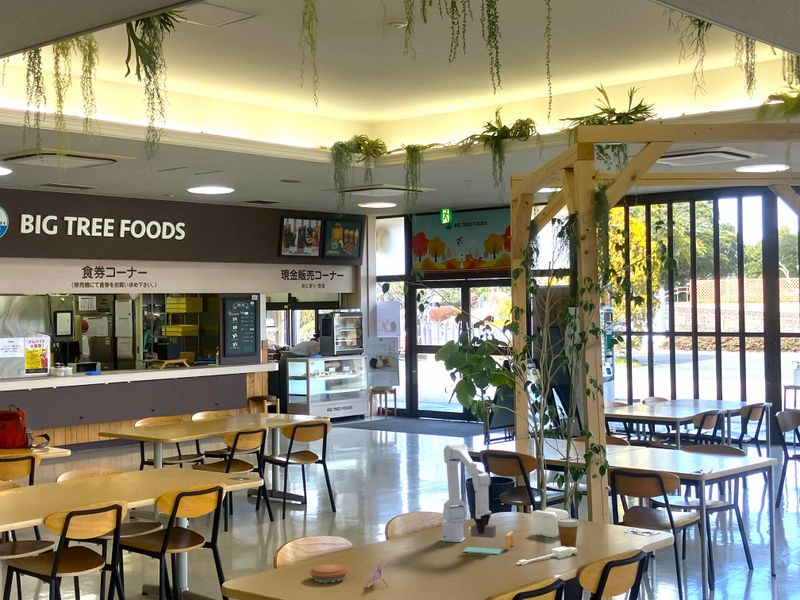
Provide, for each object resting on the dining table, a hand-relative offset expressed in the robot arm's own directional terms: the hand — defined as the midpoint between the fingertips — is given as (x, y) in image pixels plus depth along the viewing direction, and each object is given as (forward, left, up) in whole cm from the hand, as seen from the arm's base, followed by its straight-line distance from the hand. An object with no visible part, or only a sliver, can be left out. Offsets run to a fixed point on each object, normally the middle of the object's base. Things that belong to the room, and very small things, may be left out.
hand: (482, 532), depth 417 cm
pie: (-46, -61, -9) cm, 77 cm away
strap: (+10, +10, -8) cm, 16 cm away
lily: (-24, -65, -9) cm, 70 cm away
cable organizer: (+22, +40, -9) cm, 46 cm away
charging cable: (+29, -5, -9) cm, 31 cm away
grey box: (0, 0, -2) cm, 2 cm away
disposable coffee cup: (+34, +18, -9) cm, 39 cm away
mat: (0, 0, -8) cm, 8 cm away
